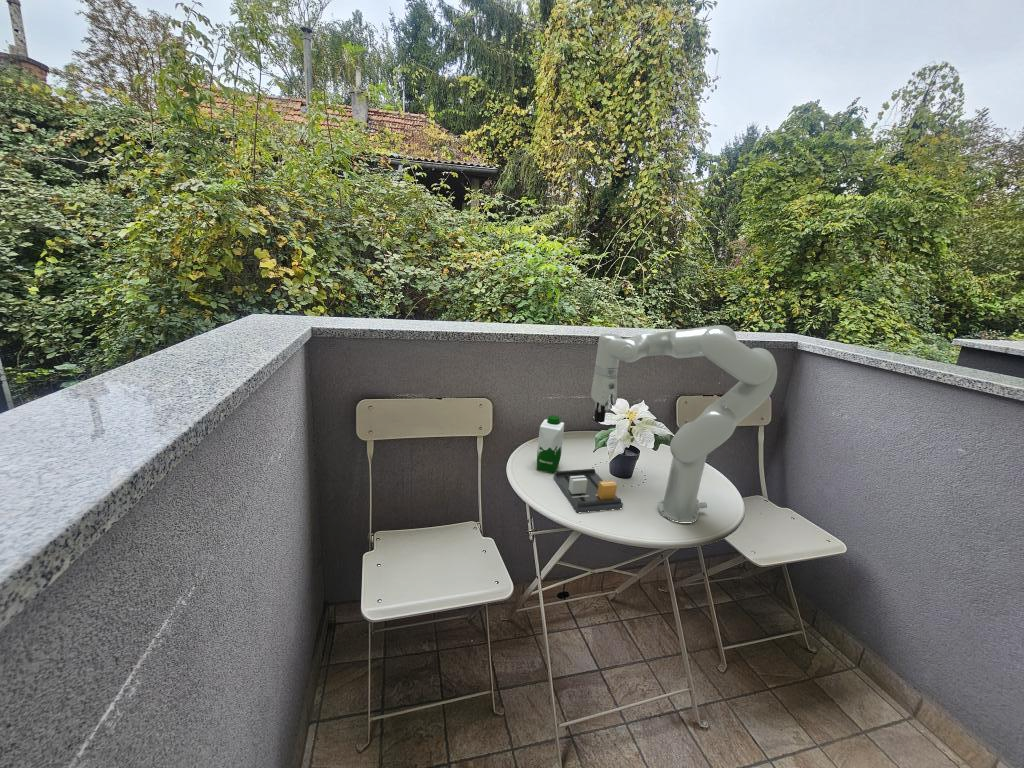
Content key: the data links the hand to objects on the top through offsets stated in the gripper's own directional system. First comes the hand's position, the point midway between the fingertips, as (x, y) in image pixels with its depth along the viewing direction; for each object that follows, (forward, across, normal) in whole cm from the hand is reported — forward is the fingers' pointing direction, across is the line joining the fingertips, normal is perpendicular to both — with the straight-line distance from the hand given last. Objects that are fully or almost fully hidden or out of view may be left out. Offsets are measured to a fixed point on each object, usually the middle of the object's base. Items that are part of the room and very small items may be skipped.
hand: (599, 421), depth 153 cm
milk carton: (+24, +13, +12) cm, 30 cm away
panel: (+24, -7, +5) cm, 25 cm away
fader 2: (+22, -13, +1) cm, 25 cm away
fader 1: (+22, -9, +10) cm, 25 cm away
